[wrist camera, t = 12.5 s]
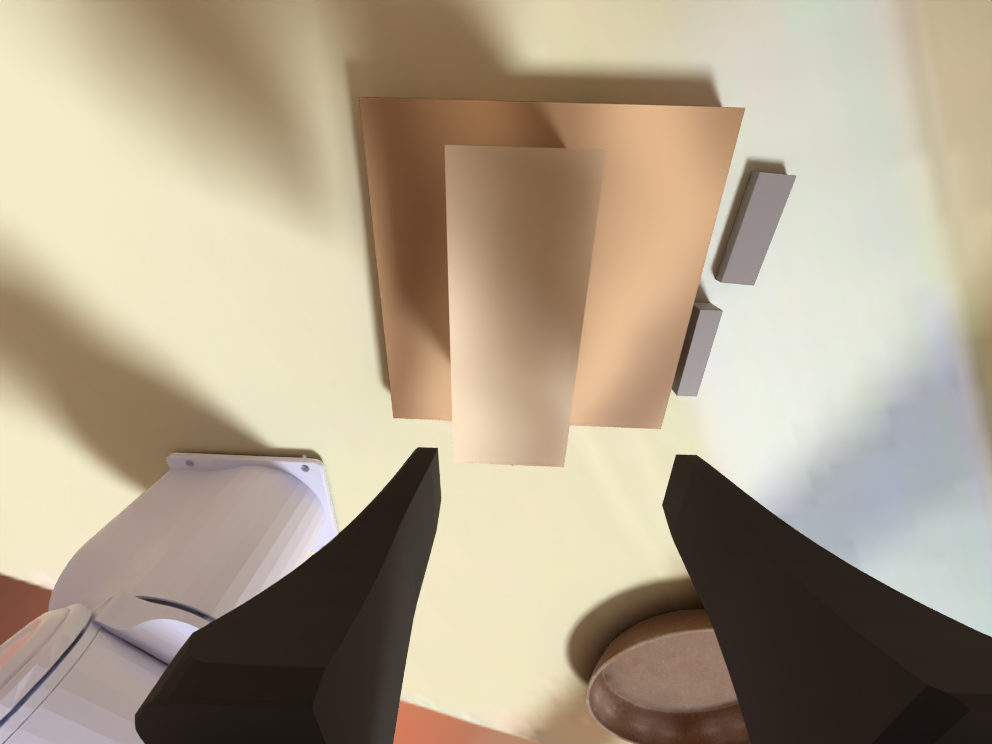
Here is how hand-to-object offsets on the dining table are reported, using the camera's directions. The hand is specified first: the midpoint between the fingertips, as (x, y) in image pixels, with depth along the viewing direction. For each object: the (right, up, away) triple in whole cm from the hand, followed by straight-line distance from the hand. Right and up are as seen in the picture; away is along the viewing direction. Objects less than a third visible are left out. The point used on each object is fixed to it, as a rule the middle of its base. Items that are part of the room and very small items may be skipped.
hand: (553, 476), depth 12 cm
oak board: (0, +7, +7) cm, 10 cm away
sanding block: (-1, +7, +5) cm, 9 cm away
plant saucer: (+14, -21, +21) cm, 33 cm away
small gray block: (+7, +4, +7) cm, 11 cm away
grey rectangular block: (+9, +9, +5) cm, 14 cm away
